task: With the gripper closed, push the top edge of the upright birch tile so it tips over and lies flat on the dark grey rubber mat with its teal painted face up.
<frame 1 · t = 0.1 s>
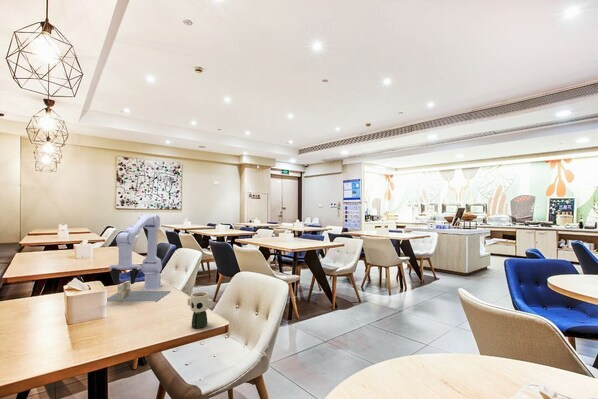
hand: (124, 283, 147), 10 cm above the table, fingers open, 7 cm apart
birch tile: (124, 297, 157), resting on rubber mat
rubber mat: (137, 296, 159), on the table
character mug: (199, 326, 121), on the table
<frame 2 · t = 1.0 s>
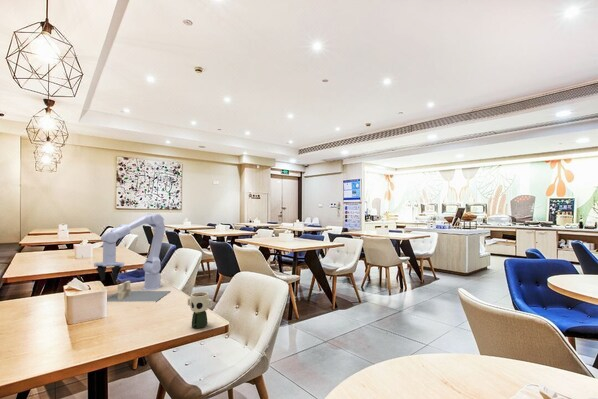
hand: (108, 280, 157), 9 cm above the table, fingers open, 6 cm apart
nothing on the table moved.
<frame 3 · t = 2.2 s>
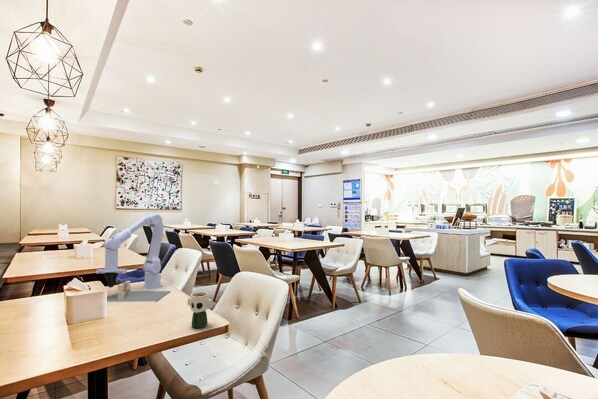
hand: (111, 286, 157), 6 cm above the table, fingers closed
nothing on the table moved.
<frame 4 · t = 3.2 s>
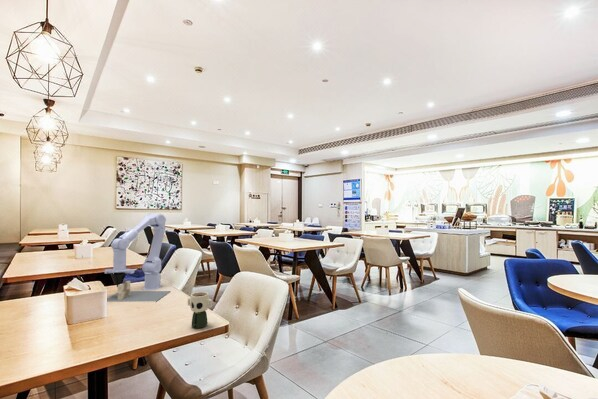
hand: (119, 286, 157), 6 cm above the table, fingers closed
nothing on the table moved.
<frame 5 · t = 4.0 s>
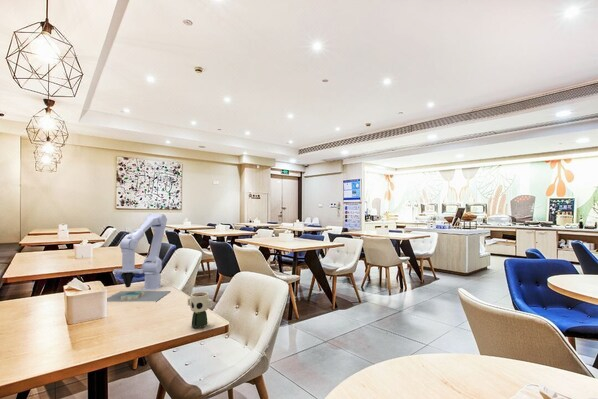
hand: (128, 286, 157), 6 cm above the table, fingers closed
birch tile: (125, 295, 157), point 1 cm above the table, tilted 90°, touching rubber mat
everything else where it was.
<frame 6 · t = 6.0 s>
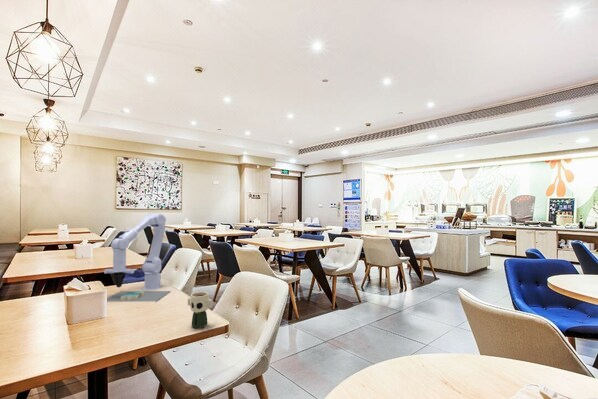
hand: (119, 286, 157), 6 cm above the table, fingers closed
nothing on the table moved.
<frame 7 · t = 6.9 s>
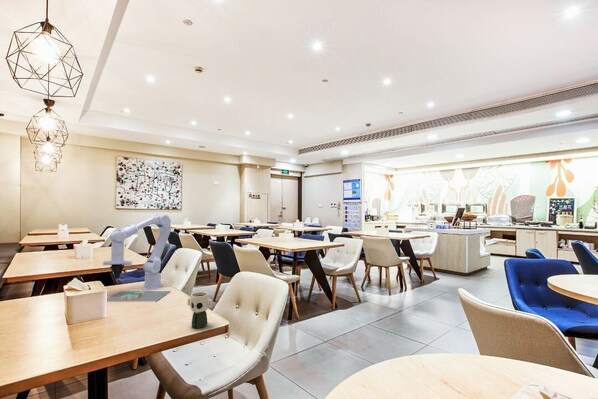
hand: (117, 278, 161), 9 cm above the table, fingers closed
nothing on the table moved.
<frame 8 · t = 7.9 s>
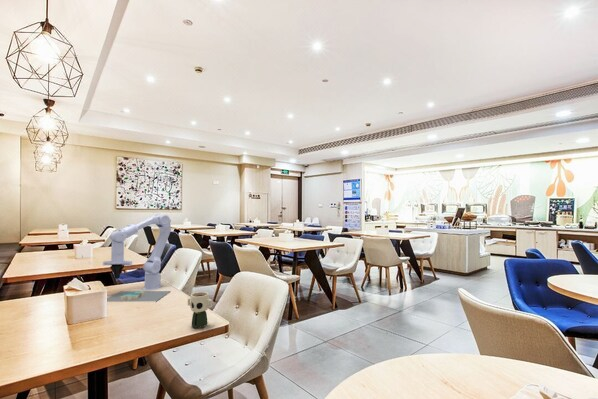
hand: (117, 278, 161), 9 cm above the table, fingers closed
nothing on the table moved.
at the end: birch tile tilted 90°; birch tile inside the target area (2.1 cm from its centre), point 1.3 cm above the table; the gripper is holding nothing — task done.
